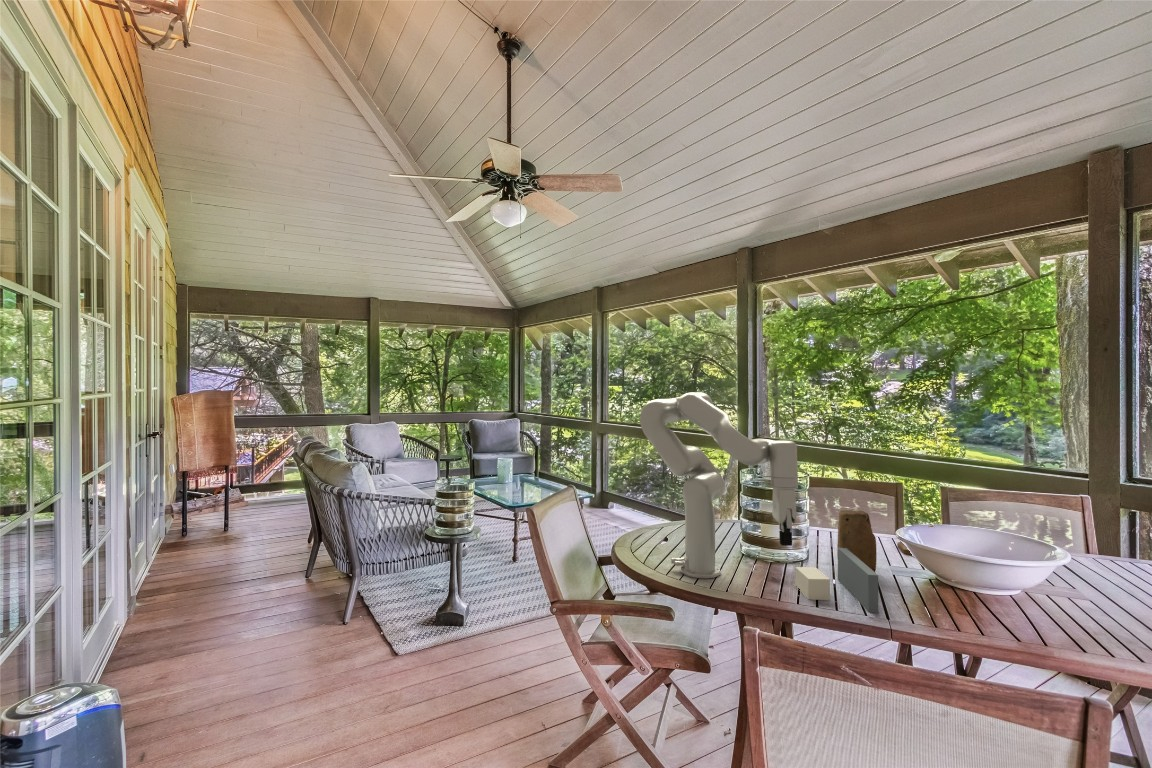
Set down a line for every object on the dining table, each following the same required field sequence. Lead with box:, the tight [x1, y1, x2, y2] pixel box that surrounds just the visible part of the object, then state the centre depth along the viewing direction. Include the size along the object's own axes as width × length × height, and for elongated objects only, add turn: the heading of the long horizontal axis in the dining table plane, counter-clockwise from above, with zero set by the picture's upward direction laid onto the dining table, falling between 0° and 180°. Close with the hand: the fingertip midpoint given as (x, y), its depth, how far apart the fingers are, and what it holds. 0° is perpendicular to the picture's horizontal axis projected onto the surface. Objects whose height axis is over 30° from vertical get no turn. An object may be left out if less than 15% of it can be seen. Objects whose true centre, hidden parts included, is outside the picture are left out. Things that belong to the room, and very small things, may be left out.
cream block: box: [794, 566, 831, 601], centre depth 157 cm, size 6×10×6 cm, turn 178°
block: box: [836, 509, 877, 573], centre depth 173 cm, size 11×8×20 cm
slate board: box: [837, 548, 879, 614], centre depth 155 cm, size 2×24×10 cm, turn 172°
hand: (785, 544), depth 158 cm, fingers closed
